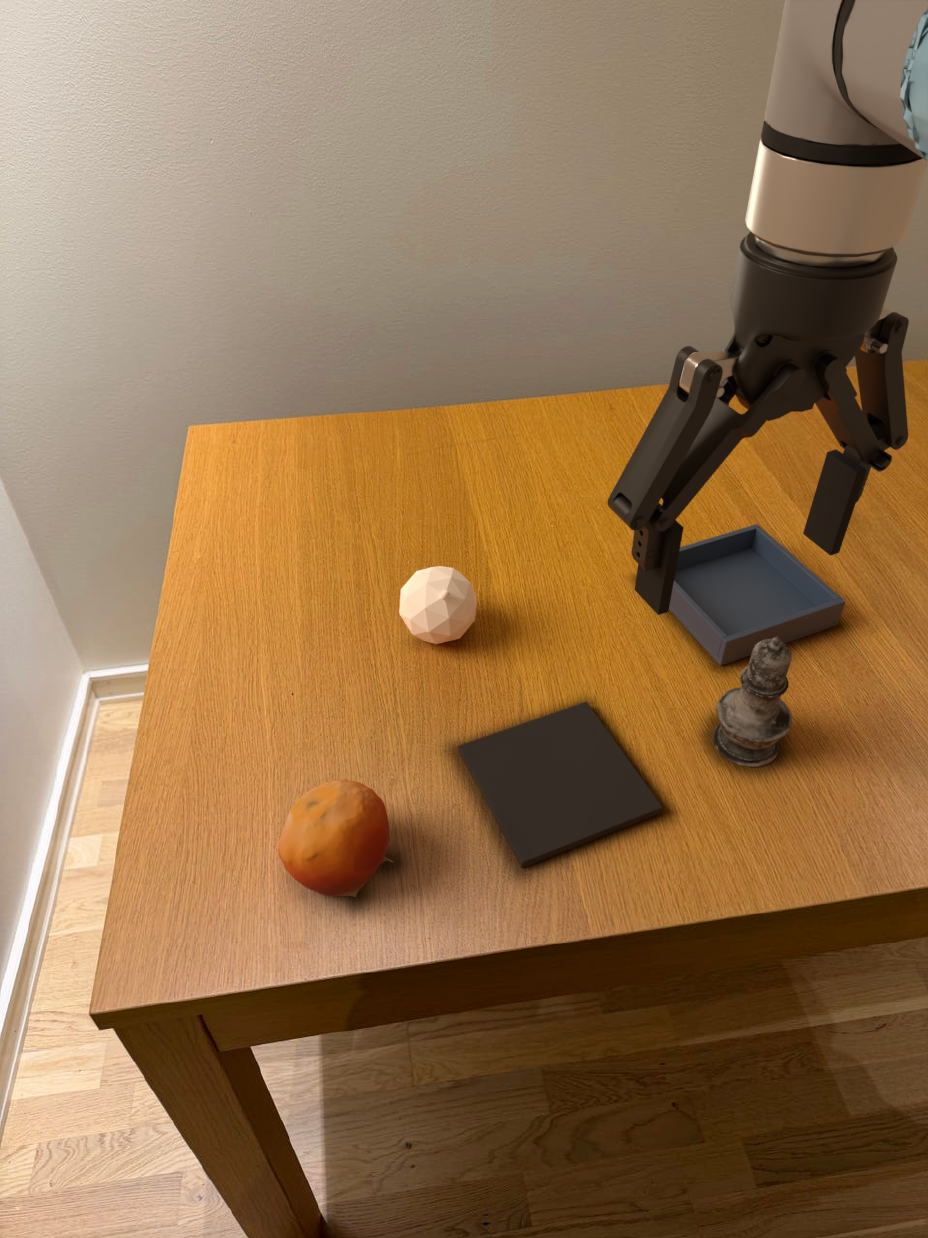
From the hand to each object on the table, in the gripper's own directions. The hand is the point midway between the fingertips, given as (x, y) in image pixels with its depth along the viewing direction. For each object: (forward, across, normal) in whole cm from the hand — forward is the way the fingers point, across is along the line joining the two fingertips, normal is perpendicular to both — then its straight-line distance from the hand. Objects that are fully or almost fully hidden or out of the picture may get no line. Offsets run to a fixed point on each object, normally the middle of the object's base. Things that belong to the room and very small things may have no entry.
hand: (738, 571), depth 58 cm
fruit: (+20, +29, -4) cm, 35 cm away
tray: (+20, -16, -15) cm, 29 cm away
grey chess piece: (+20, -5, 0) cm, 21 cm away
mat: (+20, +11, -3) cm, 23 cm away
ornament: (+20, +12, -23) cm, 33 cm away
